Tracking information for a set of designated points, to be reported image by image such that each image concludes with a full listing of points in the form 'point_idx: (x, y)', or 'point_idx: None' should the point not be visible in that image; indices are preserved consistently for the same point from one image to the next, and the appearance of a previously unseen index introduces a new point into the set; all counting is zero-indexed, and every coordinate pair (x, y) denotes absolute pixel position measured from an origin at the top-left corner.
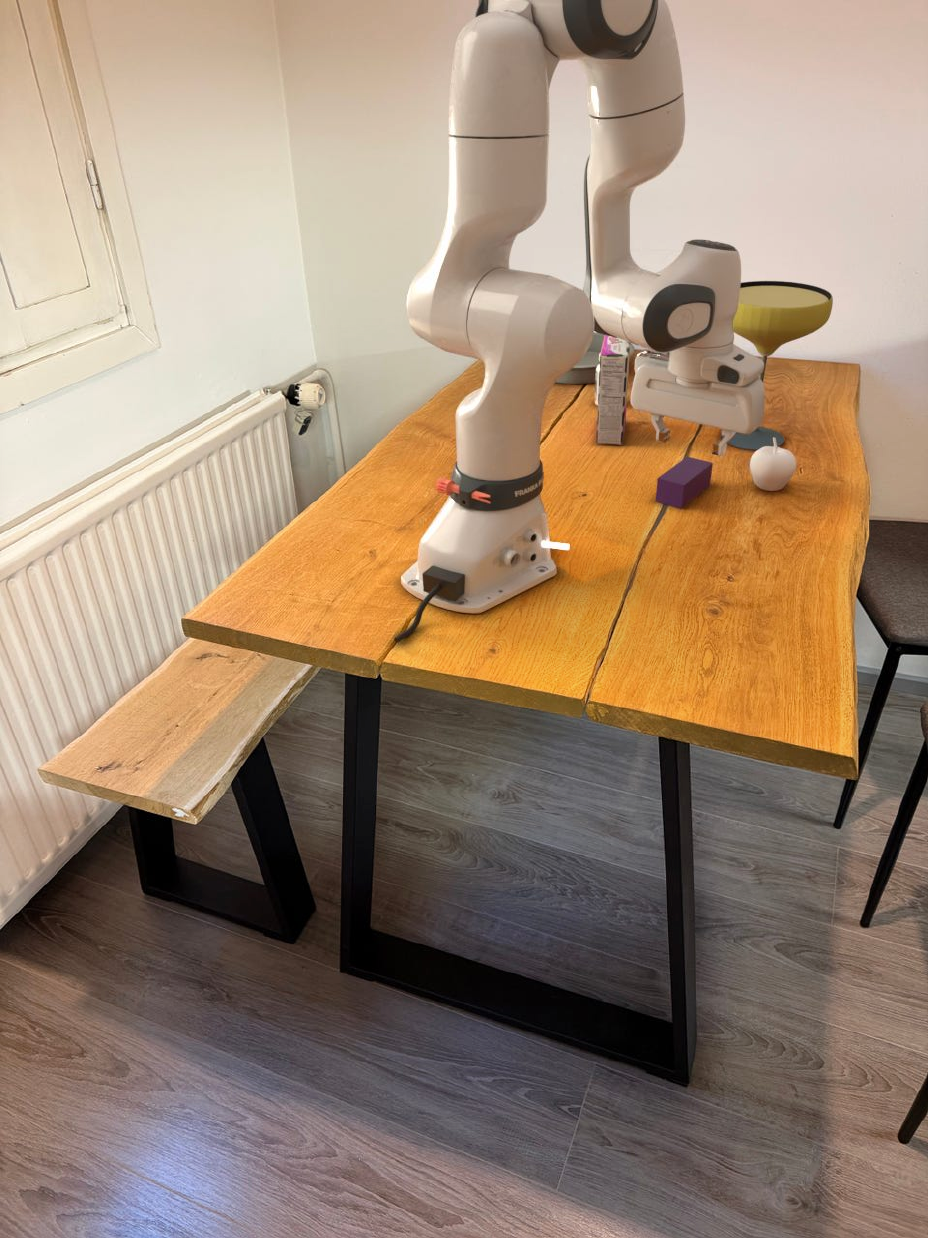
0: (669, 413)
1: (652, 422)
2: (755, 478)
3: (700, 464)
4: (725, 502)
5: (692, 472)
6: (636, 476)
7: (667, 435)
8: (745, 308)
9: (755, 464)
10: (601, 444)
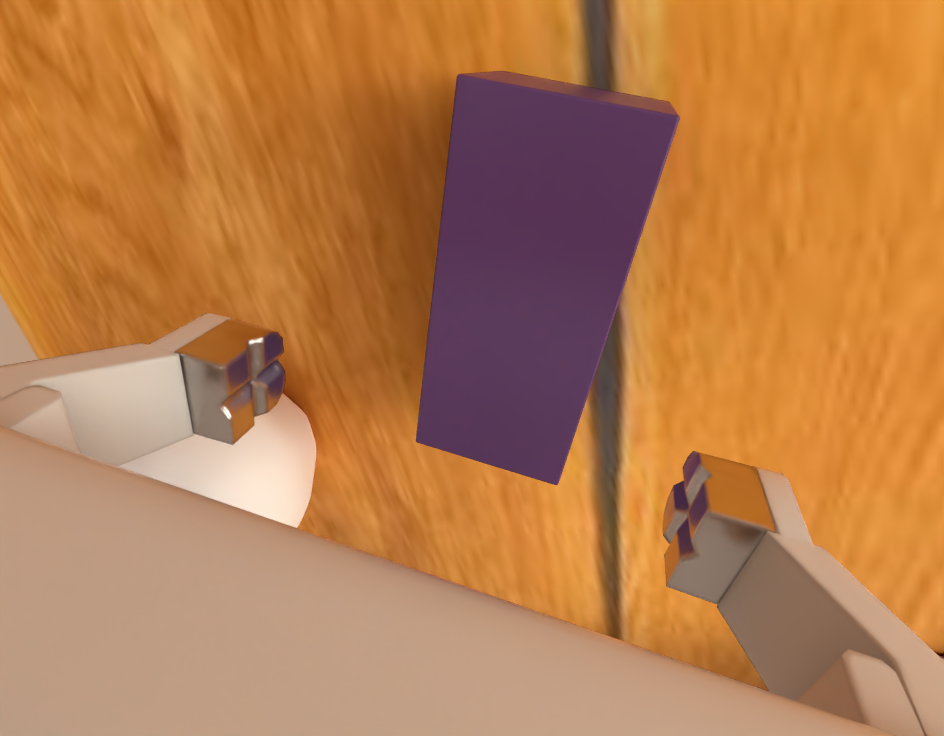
0: (691, 723)
1: (917, 638)
2: (276, 411)
3: (464, 410)
4: (344, 242)
5: (470, 299)
6: (825, 383)
7: (681, 525)
8: None
9: (237, 443)
10: None
